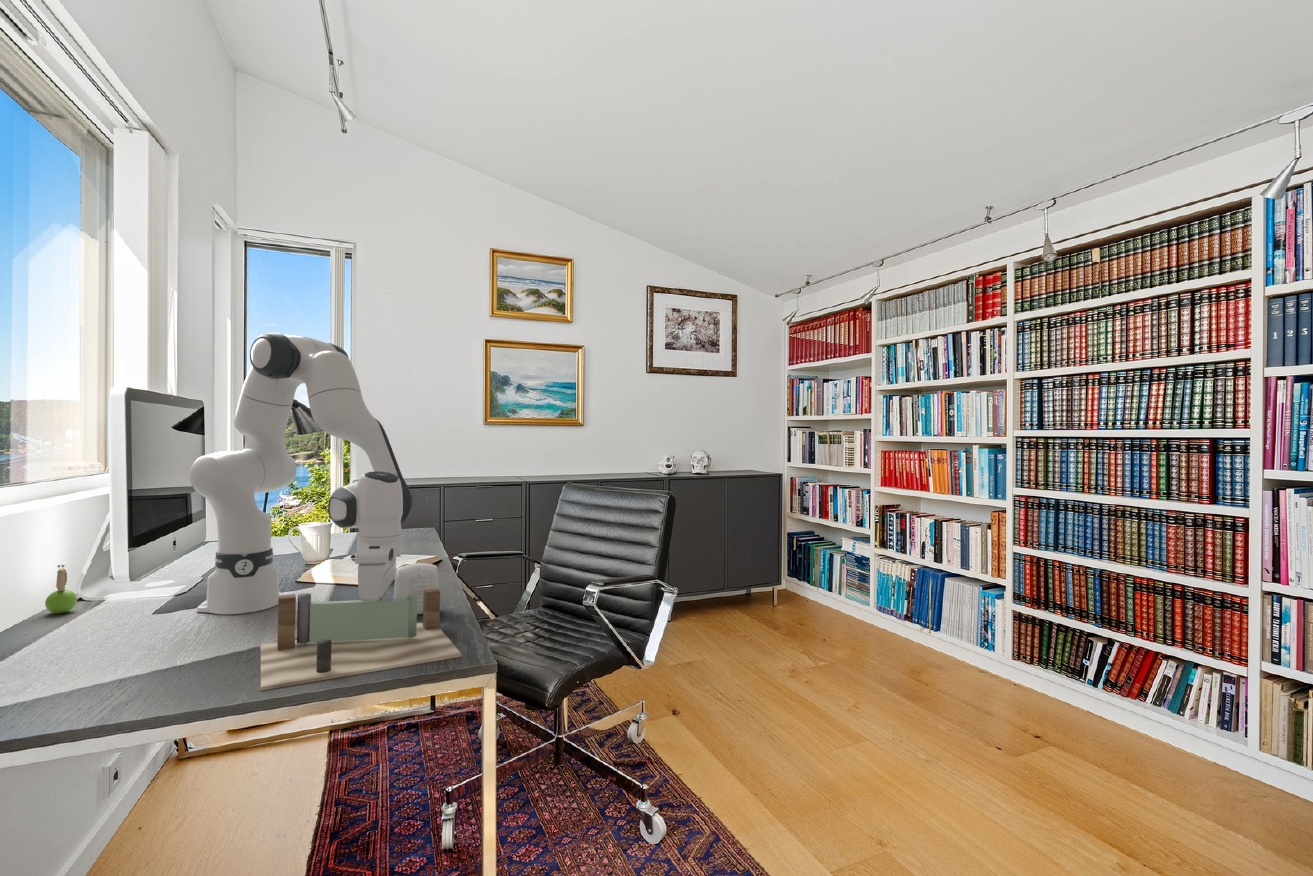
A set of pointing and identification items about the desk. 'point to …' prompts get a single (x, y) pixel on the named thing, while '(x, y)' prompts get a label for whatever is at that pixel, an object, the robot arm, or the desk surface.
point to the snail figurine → (61, 595)
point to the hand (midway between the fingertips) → (378, 610)
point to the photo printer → (415, 581)
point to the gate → (355, 619)
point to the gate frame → (349, 649)
